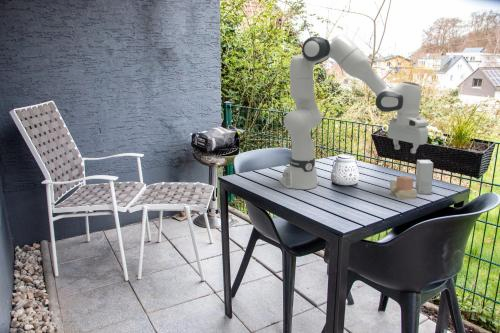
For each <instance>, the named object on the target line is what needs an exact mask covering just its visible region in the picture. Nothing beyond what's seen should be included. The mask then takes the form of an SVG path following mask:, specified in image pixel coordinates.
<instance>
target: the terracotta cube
mask: <svg viewBox="0 0 500 333" xmlns="http://www.w3.org/2000/svg"><path fill="white" fill-rule="evenodd" d="M396 178H397V181H396V188H398V189H401V190H404V191H406V190H411V189H413V188H414V178H413V177H410V176H405V175H403V176H397V177H396Z"/></svg>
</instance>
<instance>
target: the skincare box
mask: <svg viewBox="0 0 500 333" xmlns="http://www.w3.org/2000/svg"><path fill="white" fill-rule="evenodd" d="M415 170H416V171H415V173H416V174H415V188H414V189H416V190H417V194H420V195H421V194H422V195H423V194H424V195H432V188H433V186H432V185H433V171H434V162H432V161H431V159H417V160H416V169H415Z"/></svg>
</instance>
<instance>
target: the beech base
mask: <svg viewBox="0 0 500 333" xmlns="http://www.w3.org/2000/svg"><path fill="white" fill-rule="evenodd" d="M390 195H392V196H393V197H395V198H397V199H399V200H410V199H417V195H418V192H417V190H416V189H415V188H414V187H413V189H411V190H406V191H404V190H401V189H398V188H396V186H391V189H390Z"/></svg>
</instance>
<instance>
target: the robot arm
mask: <svg viewBox="0 0 500 333" xmlns="http://www.w3.org/2000/svg"><path fill="white" fill-rule="evenodd" d="M329 58H331V59H332V60H333V61H335V62H336V64H337V65H338V66H339V67H340V68H341V69H342V70H343V71H344V72H345V73H346V74H348V75H349V76H351V77H353V78H355V79H358V80H360V81H361V82H363V83H364V84H366V85H367V87H368V88H369V89H370V90H371V91H372V92H373V93H374V94H375V96H376V98H375V106H376V108H377V109H378V110H379V111H381V112H383V113H391V112H394V111H395V112H397V114H396V118H394V117H393V118H391V119H390V120H389V125H388V126H387V132H386V135H387V138H388V139H391V140H392V143H393V145H394V150H398V151H399V150H400V149H401V145H400V144H399V142H400V141H402V142H406V143H410V144H412V146H413V147H412V148H410V151H409V152H410V154H416V153H417V149H418V148H419V146H421V145H425V144H426V143H427V142H428V137H429V129H428V126H429V121H428V120H427V119H426V118H425V119H424V118H423V117H421V115H420V106H421V101H422V100H421V99H422V98H421V97H422V89H421V86H420V85H419V83H414V82H410V81H403V82H401V83H400V84H398V85H396V86H393V87H391V86H389V85H388V84H387V83H386V82H385V81H384V80H383V79H382V78H381V77H380V76H379V75H378V73H376V71H375V69H373V67H372V65H371V64H370V61H369V60H368V58H367V57H366V55H365V54H364V53H363V51H362V50H361V48H359V46H358V45H357V44H355V42H354V41H353V40H352V39H350V38H349V37H347V35H344V34H338V35H336V36H334V37H333V38H332V39H330V40H328V39H327V38H326V39H325V38H324V37H320V36H311V37H309V38H307V39H306V40H305V41H304V42H303V43H302V46H301V54H297V55H294V56H293V57H291V60H290V66H289V90H290V97H291V98H292V99H293V101H294V104H295V106H296V109H293V110H291V111H289V112H288V113H286V114H285V116H284V117H283V118H284V119H283V125H284V128H285V130H287V131H288V134H289V137H290V141H291V157H290V158H289V161H290V162H289V165H288V166H287V167H286V168H285V169H284V170H283V172H282V177H280V178H278V181H279V183H280V184H281V185H282V186H283V187H285V188H286V189H296V190H311V189H315V188H317V186H318V185H319V181H318V174H317V173H318V171H317V168H316V158H315V142H314V140H313V139H312V136H311V130H313V129H315V128H317V127H318V126H319V125H320V124H321V123H322V120H323V114H322V112H321V110H320V109H319V108H318V104H317V100H316V96H315V89H314V88H315V87H314V67H315V66H316V65H317V66H318V65H319V64H322V63H324V62H326V61H328V60H329Z"/></svg>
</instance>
